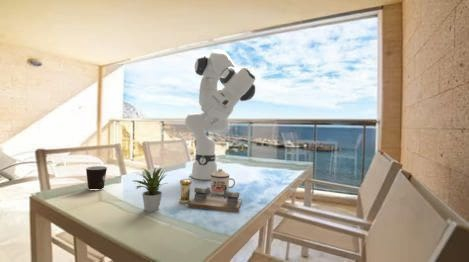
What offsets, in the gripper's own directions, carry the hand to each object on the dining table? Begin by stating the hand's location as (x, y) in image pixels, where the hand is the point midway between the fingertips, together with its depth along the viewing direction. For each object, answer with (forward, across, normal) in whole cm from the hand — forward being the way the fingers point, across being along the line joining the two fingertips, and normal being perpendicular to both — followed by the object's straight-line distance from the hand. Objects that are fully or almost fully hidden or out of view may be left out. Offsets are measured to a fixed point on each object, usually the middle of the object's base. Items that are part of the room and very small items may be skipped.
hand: (206, 123), depth 113 cm
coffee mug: (+58, +10, -16) cm, 61 cm away
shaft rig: (+20, +3, +29) cm, 36 cm away
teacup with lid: (+22, -14, +24) cm, 36 cm away
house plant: (+34, +19, +15) cm, 42 cm away
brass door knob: (+29, +6, +19) cm, 35 cm away
